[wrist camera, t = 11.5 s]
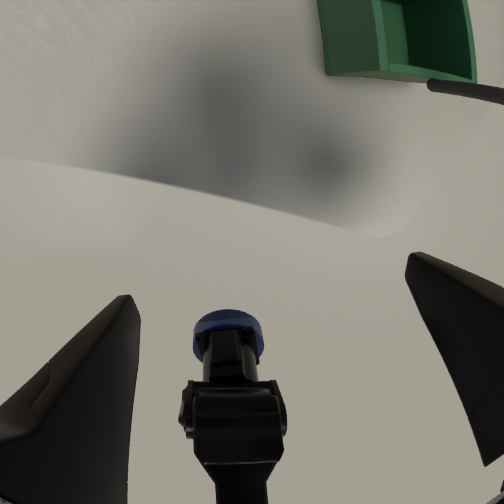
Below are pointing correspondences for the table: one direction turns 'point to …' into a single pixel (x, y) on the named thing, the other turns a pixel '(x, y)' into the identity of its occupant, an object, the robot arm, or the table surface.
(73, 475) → the robot arm
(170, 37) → the table surface
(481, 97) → the pail
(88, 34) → the table surface
